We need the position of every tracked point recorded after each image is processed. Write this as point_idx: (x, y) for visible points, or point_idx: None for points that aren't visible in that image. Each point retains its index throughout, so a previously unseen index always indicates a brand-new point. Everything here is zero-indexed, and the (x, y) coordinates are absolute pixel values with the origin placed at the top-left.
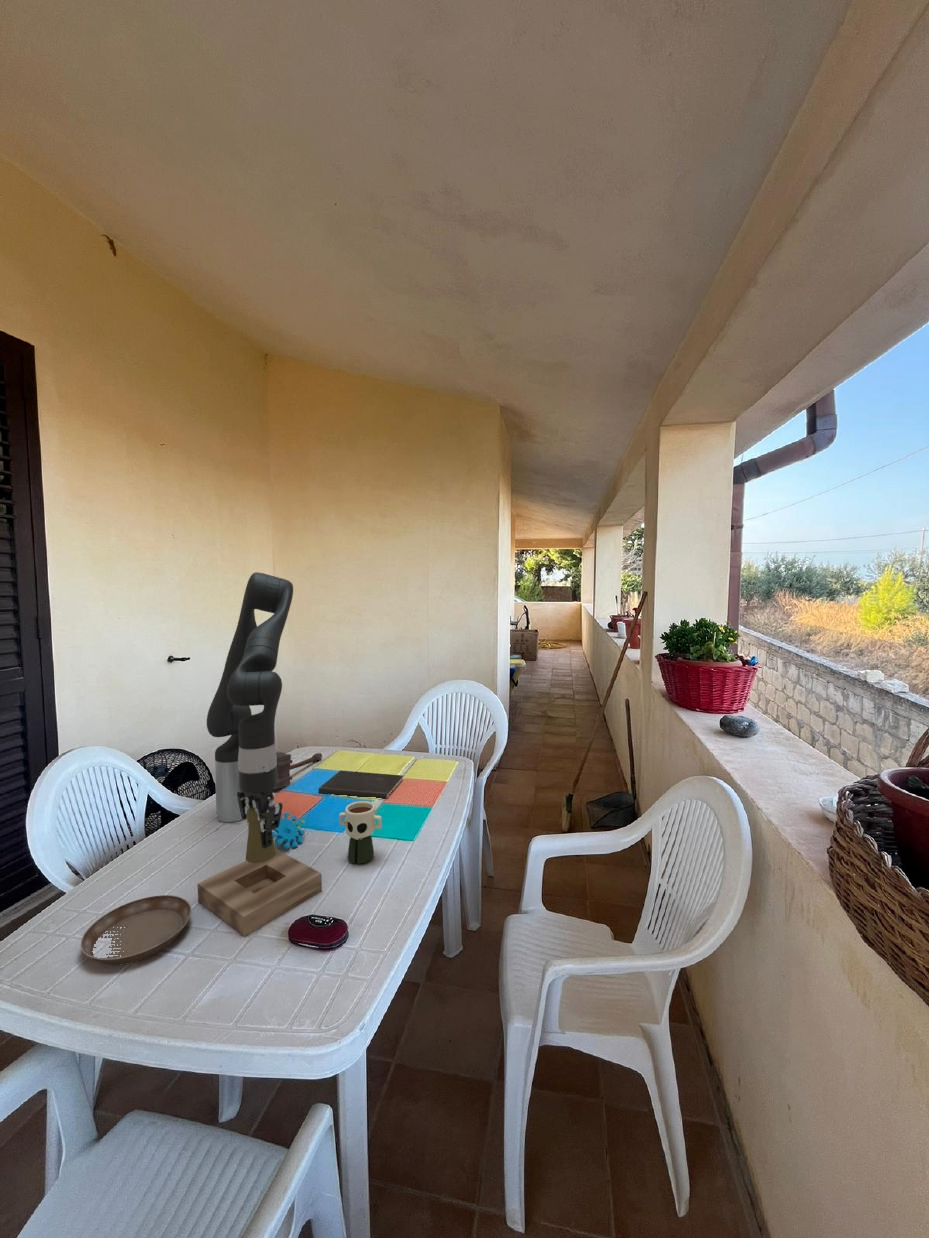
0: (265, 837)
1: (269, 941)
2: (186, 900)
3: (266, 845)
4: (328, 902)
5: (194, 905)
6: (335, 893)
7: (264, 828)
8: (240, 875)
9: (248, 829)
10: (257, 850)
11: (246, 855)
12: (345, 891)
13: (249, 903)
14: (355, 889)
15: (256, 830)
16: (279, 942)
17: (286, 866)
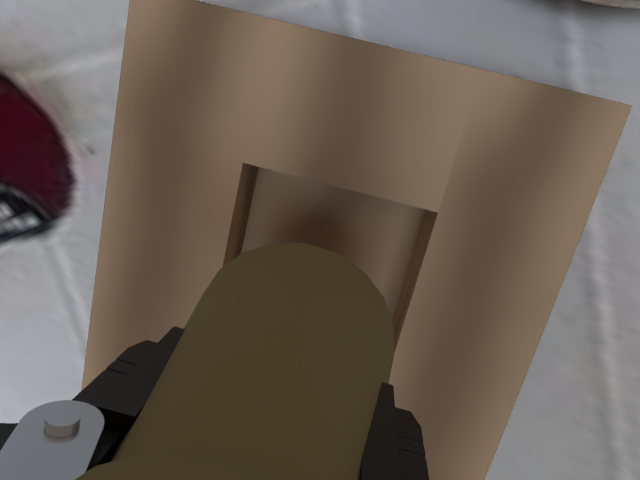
0: (107, 383)
1: (64, 33)
2: (593, 2)
3: (140, 345)
4: (48, 316)
5: (576, 77)
6: (65, 370)
7: (16, 434)
8: (440, 261)
9: (396, 451)
10: (216, 295)
11: (342, 271)
12: (42, 392)
13: (195, 85)
14: (19, 414)
15: (165, 404)
16: (26, 46)
17: None
